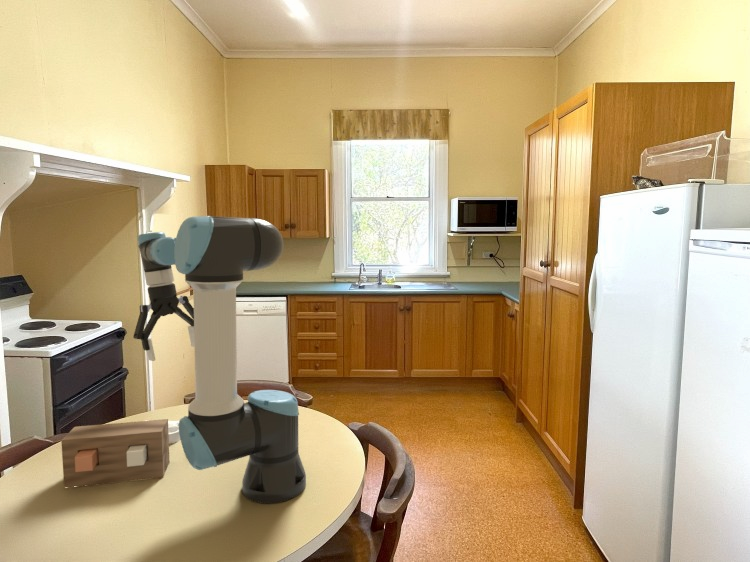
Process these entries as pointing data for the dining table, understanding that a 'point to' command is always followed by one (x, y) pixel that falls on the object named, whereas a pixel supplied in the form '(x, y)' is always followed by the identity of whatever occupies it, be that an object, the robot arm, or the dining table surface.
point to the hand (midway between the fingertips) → (174, 353)
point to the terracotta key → (86, 460)
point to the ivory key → (137, 455)
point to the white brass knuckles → (173, 431)
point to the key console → (116, 452)
